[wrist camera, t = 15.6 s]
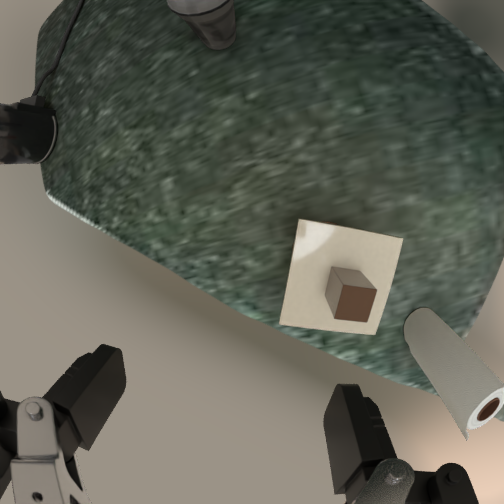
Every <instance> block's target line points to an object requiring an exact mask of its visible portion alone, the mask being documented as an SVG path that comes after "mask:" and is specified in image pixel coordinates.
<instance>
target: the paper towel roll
mask: <svg viewBox="0 0 504 504" xmlns="http://www.w3.org/2000/svg"><path fill="white" fill-rule="evenodd" d="M404 338H405V341H406V342H407V343H408V345H409V347H410V352H411V354H412V355H413V357H414V358H415V360H416V361H417V363H418V364H419V366H420V367H421V368H422V370H423V371H424V373H425V374H426V376H427V377H428V379H429V380H430V382H431V383H432V385H433V387H434V388H435V390H436V391H437V393H438V394H439V396H440V397H441V399H442V400H443V402H444V404H445V405H446V407H447V409H448V410H449V412H450V413H451V415H452V417H453V418H454V420H455V422H456V423H457V425H458V427H459V428H460V430H461V432H462V434H463V435H464V437H465V439H466V441H467V440H468V438H469V434H468V432H467V431H466V428H468V429H475V428H479V427H480V426H482V425H484V424H485V423H487V422H488V421H489V420H490V419H491V418H492V417H494V416H495V414H496V413H497V412H498V411H499V410H500V409H501V407H502V406H503V404H504V384H503V382H502V381H501V380H500V379H499V378H498V377H497V376H496V375H495V373H494V372H493V371H492V370H491V369H490V368H489V367H488V366H487V365H486V364H485V363H484V362H483V360H482V359H481V358H480V357H479V356H478V355H477V354H476V353H475V352H474V351H473V350H472V349H471V348H470V347H469V346H468V345H467V344H466V343H465V342H464V341H463V340H462V339H461V338H460V337H459V336H458V335H457V334H456V333H455V332H454V331H453V330H452V329H451V328H450V327H449V326H448V325H447V324H446V323H445V322H444V321H443V320H442V319H441V318H440V317H439V316H438V315H437V314H435V313H434V312H433V311H432V310H431V309H429V308H419V309H417V310H415V311H414V312H412V313H411V314H410V315H409V317H408V318H407V319H406V321H405V324H404Z"/></svg>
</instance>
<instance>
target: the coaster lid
mask: <svg viewBox="0 0 504 504" xmlns="http://www.w3.org/2000/svg"><path fill="white" fill-rule="evenodd" d="M402 241H403V239H402V238H400V237H396V236H391V235H387V234H382V233H377V232H372V231H367V230H362V229H356V228H351V227H346V226H340V225H335V224H329V223H324V222H318V221H312V220H307V219H301V218H298V223H297V228H296V234H295V240H294V245H293V251H292V256H291V262H290V267H289V272H288V278H287V283H286V288H285V293H284V298H283V303H282V308H281V313H280V318H279V324H281V325H288V326H295V327H303V328H311V329H319V330H328V331H338V332H347V333H358V334H370V335H375V334H376V331H377V328H378V325H379V322H380V319H381V316H382V313H383V310H384V307H385V304H386V301H387V298H388V294H389V291H390V287H391V284H392V280H393V277H394V273H395V270H396V266H397V262H398V258H399V254H400V250H401V246H402Z"/></svg>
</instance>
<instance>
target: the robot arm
mask: <svg viewBox="0 0 504 504" xmlns="http://www.w3.org/2000/svg"><path fill="white" fill-rule="evenodd" d="M83 1H84V0H79V3H78V5H77V8H76V10H75V12H74V14H73V16H72V18H71V20H70V22H69V24H68V27H67V29H66V31H65V33H64V36H63V39H62V42H61V45H60V48H59V51H58V54H57V56H56V59H55V61H54V63H53V65H52V67H51V68H50V69H49V70H48V71H47V72H46V73H44V74H43V76H42V77H41V78H40V80H39V82H38V83H37V85H36V87H35V90H34V92H33V94H32V96H31V97H28V98H25V99H22V100H20V103H19V102H17V103H13V104H10V105H9V104H1V103H0V164H22V163H27V164H30V163H32V164H38V163H41V162H43V161H44V160H46V159H47V158H48V156H49V155H50V153H51V152H52V150H53V148H54V145H55V142H56V138H57V131H58V127H57V120H56V118H55V110H53V109H49V108H44V103H45V98H46V97H42V96H38V95H37V93H38V91H39V89H40V87H41V85H42V83H43V81H44V80H45V78H46V77H47V76H48V75H50V74H51V73H52V72H53V71H54V69H55V68H56V66H57V64H58V62H59V60H60V57H61V55H62V52H63V49H64V46H65V43H66V40H67V37H68V35H69V32H70V30H71V28H72V25H73V23H74V21H75V19H76V17H77V15H78V13H79V11H80V8H81V6H82V4H83ZM125 387H126V375H125V368H124V362H123V355H122V351H121V350H120V349H119V348H115V347H112V346H109V345H105V344H101V345H100V346H99V347H98V348H97V349H96V350H95V351H94V352H93V354H92V353H87V354H85V355H83V356H81V357H79V358H78V359H77V360H76V361H75V362H74V363H73V364H72V365H71V367H69V369H68V370H66V372H65V374H63V375H62V376H61V377H60V378H59V379H58V380H57V382H56V383H55V384H54V385H53V386H52V387H51V388H50V390H49V391H48V392H47V393H46V394H45V395H44V396H43V397H42V398H41V397H30V398H27V399H25V400H23V401H22V402H21V403H20V402H15V401H11V400H8V399H5V398H4V397H3V396H2V393H1V391H0V499H1V497H2V495H3V494H4V492H5V490H6V488H7V486H8V484H9V483H10V481H11V479H12V486H13V493H14V500H15V504H92V503H91V502H90V499H89V497H88V495H87V492H86V489H85V486H84V482H83V479H82V475H81V472H80V468H79V464H78V460H77V456H76V453H75V451H76V450H77V448H78V446H79V447H81V448H83V449H85V450H88V451H89V450H90V448H91V446H92V444H93V443H94V441H95V439H96V437H97V436H98V434H99V432H100V431H101V429H102V428H103V426H104V424H105V422H106V421H107V419H108V417H109V416H110V414H111V412H112V411H113V409H114V408H115V406H116V404H117V403H118V401H119V399H120V398H121V396H122V394H123V393H124V390H125ZM381 417H382V416H381V414H380V411H379V408H378V406H377V405H376V404H375V403H374V402H373V401H372V400H371V399H370V398H369V397H363V395H362V392H361V390H360V387H359V385H358V384H337V385H336V387H335V390H334V392H333V394H332V397H331V399H330V402H329V404H328V406H327V409H326V411H325V415H324V431H325V436H326V442H327V448H328V454H329V460H330V467H331V473H332V480H333V486H334V493H335V494H345V495H346V501H345V502H344V503H343V504H479V503H478V500H477V497H476V494H475V492H474V489H473V486H472V484H471V481H470V479H469V476H468V474H467V472H466V470H465V469H464V468H463V467H462V466H460V465H458V464H456V463H447V464H444V465H442V466H441V467H440V468H439V469H438V470H437V471H436V472H425V471H414V470H413V469H412V467H411V466H410V465H409V464H408V463H407V462H405V461H403V460H401V459H398V458H397V456H396V453H395V450H394V448H393V445H392V442H391V440H390V437H389V434H388V432H387V429H386V427H385V424H384V421H383V419H382V418H381Z"/></svg>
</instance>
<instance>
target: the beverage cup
mask: <svg viewBox="0 0 504 504" xmlns="http://www.w3.org/2000/svg"><path fill="white" fill-rule="evenodd" d="M233 1H234V0H167V2H168V7H169V8H170V9H171V11H172V12H174V13H176V14H177V15H178V16H179V17H181V18H182V19H184V20H185V21H186V23H187V24H188V25H189V26H190V27H191V29H192V30H193V31H194V32H195V33H196V34H197V36H198V37H199V38H200V39H201V41H202V42H203V43H205V45H206V46H207V47H209V48H210V49H214V50H221V49H225V48H227V47H229V46H230V45H231V44H233V42H234V41H235V39H236V23H235V12H234V2H233Z"/></svg>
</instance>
